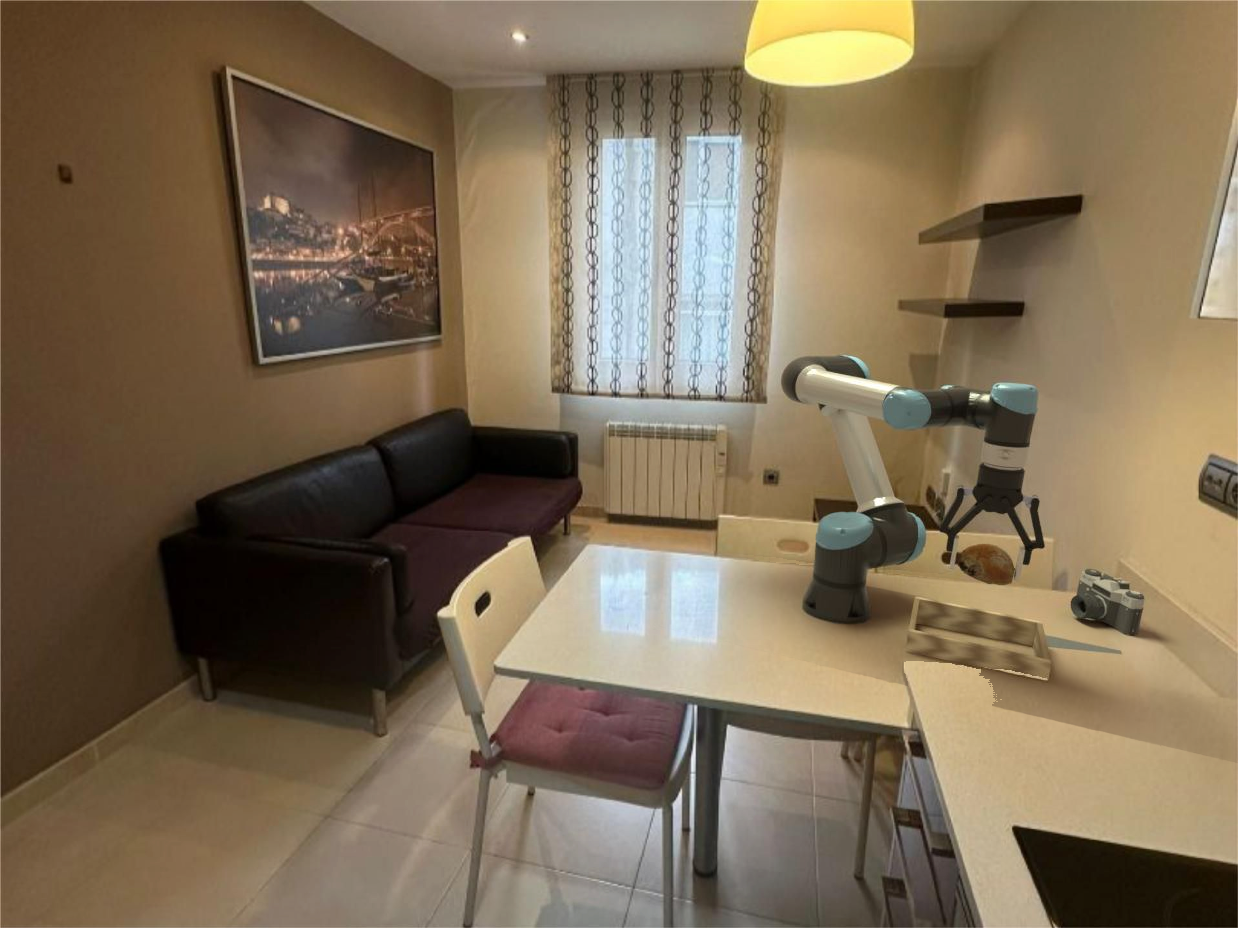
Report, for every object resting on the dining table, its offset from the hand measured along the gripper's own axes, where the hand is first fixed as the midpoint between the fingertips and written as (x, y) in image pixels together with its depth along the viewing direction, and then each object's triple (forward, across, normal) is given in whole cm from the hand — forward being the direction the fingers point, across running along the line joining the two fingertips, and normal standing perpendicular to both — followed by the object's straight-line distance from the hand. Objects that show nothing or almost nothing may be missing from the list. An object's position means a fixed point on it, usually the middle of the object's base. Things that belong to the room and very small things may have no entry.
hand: (983, 572), depth 127 cm
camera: (+18, +25, +31) cm, 44 cm away
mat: (+17, +20, +8) cm, 28 cm away
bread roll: (+2, -2, 0) cm, 2 cm away
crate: (+17, 0, 0) cm, 17 cm away
